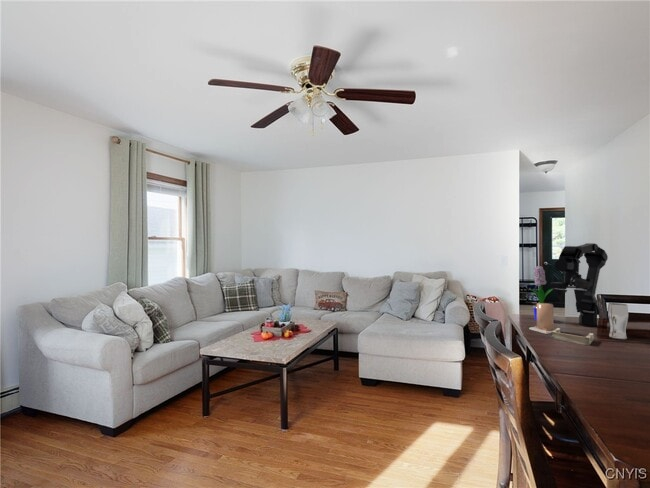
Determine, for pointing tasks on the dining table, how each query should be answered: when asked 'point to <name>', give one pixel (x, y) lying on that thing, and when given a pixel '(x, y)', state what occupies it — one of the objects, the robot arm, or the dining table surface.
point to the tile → (540, 330)
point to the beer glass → (618, 320)
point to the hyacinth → (538, 278)
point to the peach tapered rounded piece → (545, 317)
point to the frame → (572, 337)
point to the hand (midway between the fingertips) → (570, 304)
